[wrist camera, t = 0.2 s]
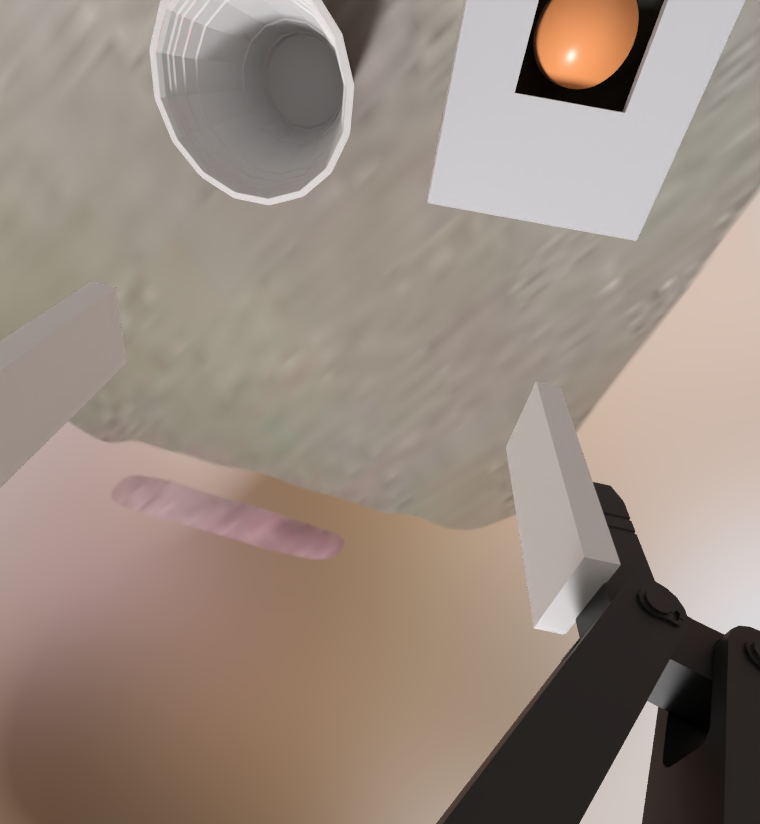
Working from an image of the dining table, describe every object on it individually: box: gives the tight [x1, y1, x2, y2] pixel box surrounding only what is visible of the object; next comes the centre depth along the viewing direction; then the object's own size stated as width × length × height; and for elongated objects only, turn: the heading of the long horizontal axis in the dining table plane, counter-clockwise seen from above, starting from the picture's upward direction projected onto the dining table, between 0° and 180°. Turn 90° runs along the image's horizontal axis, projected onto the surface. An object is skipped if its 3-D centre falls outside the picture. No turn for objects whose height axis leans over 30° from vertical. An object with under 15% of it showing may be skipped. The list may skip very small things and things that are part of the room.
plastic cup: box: [149, 0, 354, 205], centre depth 30 cm, size 11×11×12 cm
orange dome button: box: [533, 0, 639, 89], centre depth 29 cm, size 5×5×2 cm
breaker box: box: [427, 0, 745, 241], centre depth 29 cm, size 20×14×6 cm
